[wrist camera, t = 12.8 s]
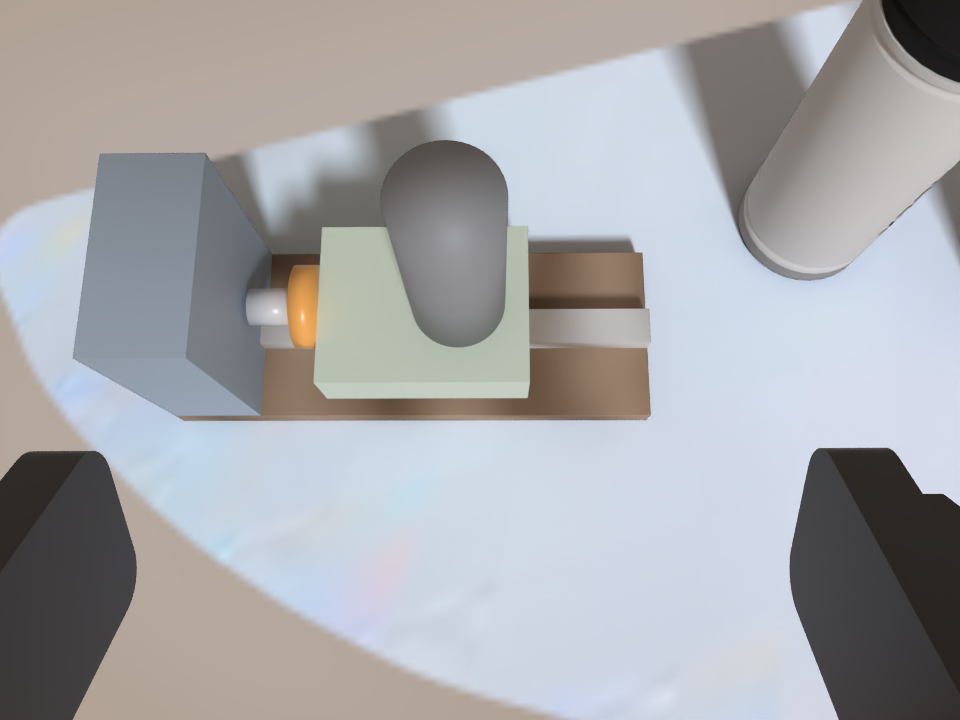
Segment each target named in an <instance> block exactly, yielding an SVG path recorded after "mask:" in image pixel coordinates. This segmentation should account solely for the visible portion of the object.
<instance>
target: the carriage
mask: <svg viewBox="0 0 960 720" xmlns="http://www.w3.org/2000/svg"><path fill="white" fill-rule="evenodd" d="M381 209H382V214H383V217H384V220H385V224H386V227H322V237H321V255H320V273H319V291H318V310H317V328H316V346H315V364H314V382H313V383H314V384H315V385H316V386H317V387H318V388H319V390H320V391H321V392H322V393H323V394H324V395H325V397H326V398H327V399H367V398H528V392H529V385H530V349H529V275H528V226H507V223H508V189H507V185H506V181H505V178H504V176H503V174H502V172H501V170H500V168H499V167H498V166H497V164H496V163H495V162H494V161H493V160H492V159H491V158H490V157H489V156H488V155H487V154H486V153H484V152H483V151H481V150H480V149H478V148H476V147H474V146H472V145H469V144H466V143H463V142H458V141H449V140H442V141H433V142H428V143H425V144H422V145H420V146H417V147H415V148H413V149H411V150H410V151H408V152H406V153H405V154H404V155H403V156H401V157H400V158H399V159H398V160H397V161H396V162H395V163H394V165H393V166H392V167H391V169H390V170H389V172H388V174H387V175H386V178H385V180H384V183H383V186H382V190H381Z"/></svg>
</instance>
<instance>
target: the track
mask: <svg viewBox="0 0 960 720" xmlns="http://www.w3.org/2000/svg"><path fill="white" fill-rule="evenodd" d="M320 255H321V254H290V255H272V266H271V280H270V288H288V282H289V277H290V273H291V270H292V268H293V267H294V266H295V265H320ZM528 275H529V349H530V385H529V392H528V398H367V399H327V398H326V397H325V395H324V394H323V393H322V392H321V391H320V390H319V388H318V387H317V386H316V385H315V384H314V383H313V382H314V364H315V348H295V347H294V345H293V343H292V340H291V337H290V332H289V326H288V325H266V326H261V336H260V344H261V345H262V346H263V347H264V348H265V349H266V351H265V365H264V379H263V393H262V407H261V415H238V416H177V417H179V418H180V419H182V420H184V421H293V420H647V418H648V417H649V416H650V415H651V412H650V393H649V373H648V354H647V347H648V346H649V344H650V342H651V335H650V316H649V309H645V295H644V276H643V256H642V253H528Z"/></svg>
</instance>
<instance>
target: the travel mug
mask: <svg viewBox="0 0 960 720" xmlns="http://www.w3.org/2000/svg"><path fill="white" fill-rule="evenodd" d="M959 161H960V0H863V1H862V3H861V5H860V6H859V8H858V10H857V11H856V13H855V14H854V16H853V18H852V19H851V21H850V23H849V24H848V26H847V27H846V29H845V31H844V32H843V34H842V36H841V37H840V39H839V40H838V42H837V44H836V45H835V47H834V49H833V50H832V52H831V53H830V55H829V57H828V58H827V60H826V62H825V63H824V65H823V66H822V68H821V70H820V71H819V73H818V75H817V76H816V78H815V79H814V81H813V83H812V84H811V86H810V88H809V89H808V91H807V93H806V94H805V96H804V97H803V99H802V101H801V102H800V104H799V106H798V107H797V109H796V110H795V112H794V114H793V115H792V117H791V119H790V120H789V122H788V123H787V125H786V127H785V128H784V130H783V132H782V133H781V135H780V136H779V138H778V140H777V141H776V143H775V145H774V146H773V148H772V149H771V151H770V153H769V154H768V156H767V158H766V159H765V161H764V162H763V164H762V166H761V167H760V169H759V171H758V172H757V174H756V175H755V178H754V179H753V180H752V182H751V184H750V185H749V187H748V189H747V190H746V192H745V194H744V196H743V198H742V200H741V204H740V208H739V227H740V232H741V235H742V238H743V240H744V242H745V245H746V246H747V248H748V249H749V251H750V252H751V253H752V255H753V256H754V257H755V258H756V259H757V260H758V261H759V262H760V263H761V264H762V265H764V266H765V267H767V268H768V269H770V270H771V271H773V272H775V273H777V274H779V275H781V276H784V277H787V278H791V279H795V280H808V281H810V280H818V279H824V278H827V277H830V276H833V275H835V274H837V273H838V272H840V271H842V270H844V269H845V268H846V267H847V266H848V265H849V264H850V263H851V262H853V261H854V260H855V259H856V258H857V257H858V256H859V255H860V254H861V253H862V252H863V251H864V250H865V249H866V248H867V247H869V246H870V245H871V244H872V243H873V242H874V241H875V240H876V239H877V238H878V237H879V236H880V235H881V234H882V233H883V232H885V231H886V230H887V229H888V228H889V227H890V226H891V225H892V224H893V223H894V222H895V221H896V220H897V219H898V218H899V217H900V216H902V215H903V214H904V213H905V212H906V211H907V210H908V209H909V208H910V207H911V206H912V205H913V204H914V203H915V202H916V201H917V200H919V199H920V198H921V197H922V196H923V195H924V194H925V193H926V192H927V191H928V190H929V189H930V188H931V187H932V186H933V185H934V184H936V183H937V182H938V181H939V180H940V179H941V178H942V177H943V176H944V175H945V174H946V173H947V172H948V171H949V170H950V169H952V168H953V167H954V166H955V165H956V164H957V163H958V162H959Z"/></svg>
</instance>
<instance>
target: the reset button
mask: <svg viewBox="0 0 960 720" xmlns="http://www.w3.org/2000/svg"><path fill="white" fill-rule="evenodd" d="M319 273H320V265H295V266H294V267H293V268H292V270H291V273H290V277H289V282H288V288H267V289H249V290H248V293H247V297H246V315H247V320H248V322H249V324H250V325H251V326H266V325H288V326H289V332H290V337H291V340H292V343H293V345H294V347H295V348H315V346H316V328H317V310H318V291H319Z"/></svg>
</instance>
